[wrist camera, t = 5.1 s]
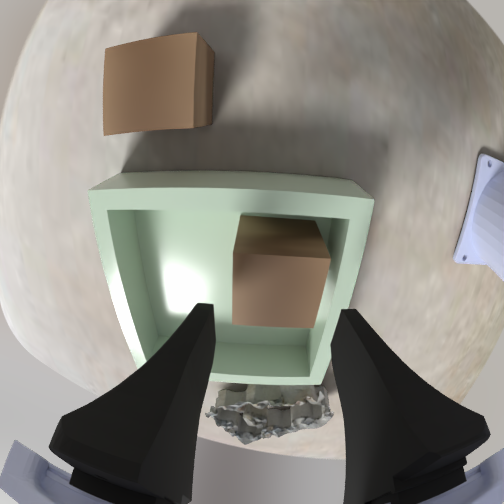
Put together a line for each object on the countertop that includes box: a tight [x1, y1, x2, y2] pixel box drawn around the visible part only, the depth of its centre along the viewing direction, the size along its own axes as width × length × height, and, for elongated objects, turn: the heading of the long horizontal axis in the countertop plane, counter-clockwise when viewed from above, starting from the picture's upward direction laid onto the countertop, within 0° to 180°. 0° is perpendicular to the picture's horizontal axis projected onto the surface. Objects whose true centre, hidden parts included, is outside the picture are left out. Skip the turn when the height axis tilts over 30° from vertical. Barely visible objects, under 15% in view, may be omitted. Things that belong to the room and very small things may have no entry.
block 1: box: [103, 32, 215, 136], centre depth 10 cm, size 4×4×4 cm
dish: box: [88, 170, 375, 385], centre depth 15 cm, size 13×13×4 cm
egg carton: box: [205, 384, 334, 445], centre depth 22 cm, size 11×8×4 cm
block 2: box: [232, 215, 331, 328], centre depth 14 cm, size 4×4×4 cm
